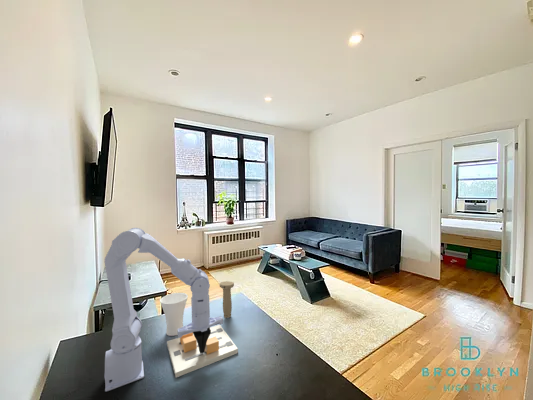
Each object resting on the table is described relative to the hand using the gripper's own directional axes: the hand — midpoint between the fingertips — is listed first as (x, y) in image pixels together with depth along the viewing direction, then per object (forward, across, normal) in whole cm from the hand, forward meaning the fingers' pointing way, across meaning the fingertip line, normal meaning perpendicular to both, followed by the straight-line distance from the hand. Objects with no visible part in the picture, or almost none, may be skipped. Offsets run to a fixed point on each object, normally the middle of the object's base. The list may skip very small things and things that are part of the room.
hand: (201, 351), depth 75 cm
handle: (+3, +17, +21) cm, 27 cm away
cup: (+3, -5, +22) cm, 23 cm away
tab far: (+1, -3, +10) cm, 10 cm away
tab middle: (+1, -3, +5) cm, 6 cm away
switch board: (+2, +1, +5) cm, 6 cm away
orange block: (+1, +3, 0) cm, 3 cm away
